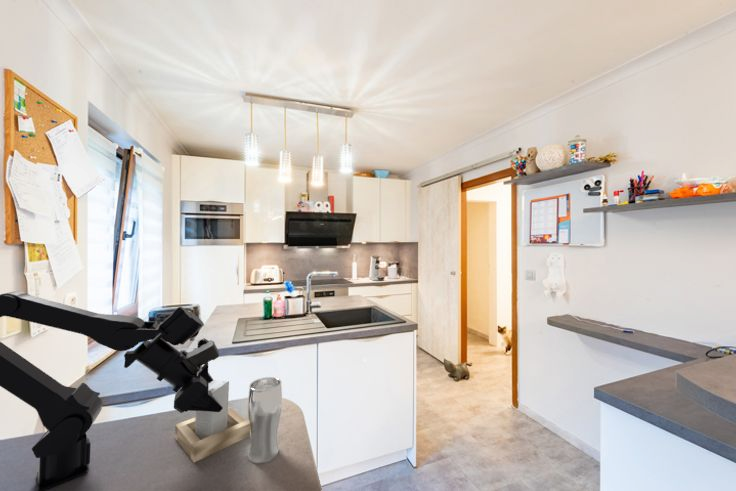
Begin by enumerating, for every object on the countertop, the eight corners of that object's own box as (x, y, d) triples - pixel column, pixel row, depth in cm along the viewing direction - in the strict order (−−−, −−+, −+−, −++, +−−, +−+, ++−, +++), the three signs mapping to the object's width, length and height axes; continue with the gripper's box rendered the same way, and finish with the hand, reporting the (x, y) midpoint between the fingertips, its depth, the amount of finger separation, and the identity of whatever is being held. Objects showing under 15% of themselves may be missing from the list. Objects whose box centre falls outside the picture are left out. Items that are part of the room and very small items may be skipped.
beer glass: (270, 467, 60) (272, 392, 60) (239, 462, 61) (241, 388, 62) (286, 445, 67) (288, 378, 67) (258, 441, 68) (260, 375, 68)
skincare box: (212, 428, 73) (213, 378, 73) (228, 430, 72) (230, 380, 72) (193, 444, 67) (194, 389, 67) (210, 447, 66) (212, 391, 66)
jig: (194, 462, 61) (194, 447, 61) (174, 437, 69) (175, 424, 69) (249, 435, 70) (250, 423, 70) (227, 416, 78) (227, 405, 78)
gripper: (195, 343, 60) (252, 387, 65) (197, 323, 76) (242, 359, 81) (145, 390, 56) (210, 434, 61) (159, 358, 72) (209, 394, 77)
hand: (220, 400), depth 70 cm, fingers open, 9 cm apart
